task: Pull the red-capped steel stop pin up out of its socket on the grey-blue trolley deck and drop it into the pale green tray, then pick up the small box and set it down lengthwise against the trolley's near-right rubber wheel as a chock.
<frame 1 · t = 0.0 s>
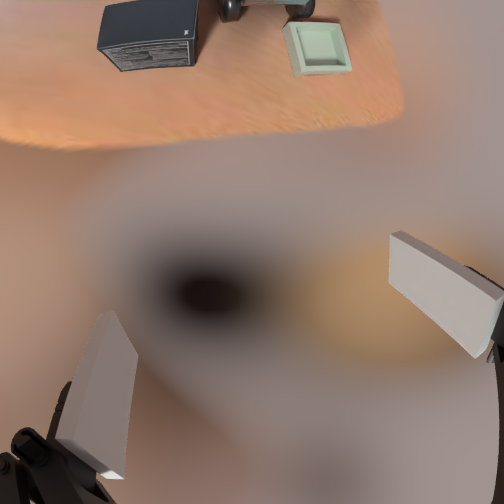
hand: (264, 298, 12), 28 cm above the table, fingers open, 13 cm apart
small box: (158, 48, 28), on the table
tray: (313, 51, 32), on the table
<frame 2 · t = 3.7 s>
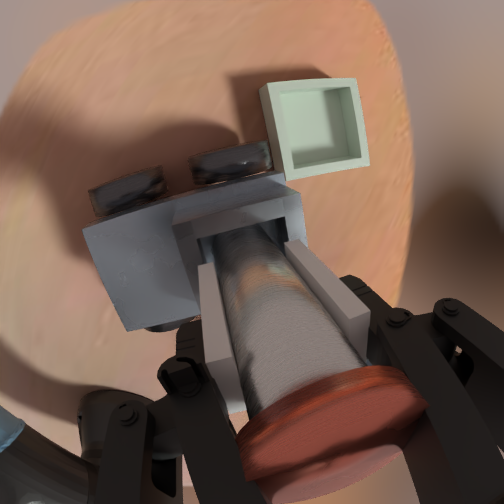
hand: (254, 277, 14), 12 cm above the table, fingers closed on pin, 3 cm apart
pin: (241, 247, 18), point 8 cm above the table, touching gripper, trolley
tray: (309, 126, 23), on the table
trolley: (194, 225, 24), on the table
when the fingers open (6 cm above the table, at t = 8.1 s): pin stays where it is, resting on tray.
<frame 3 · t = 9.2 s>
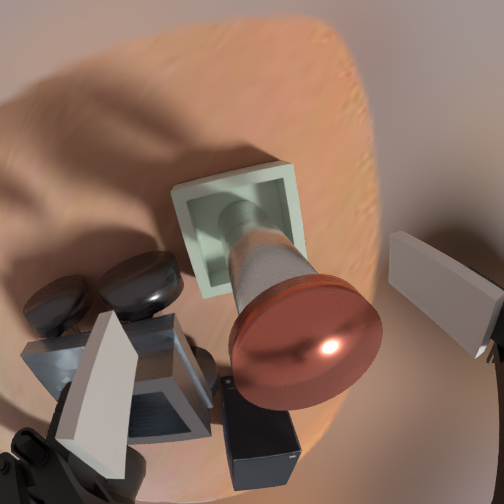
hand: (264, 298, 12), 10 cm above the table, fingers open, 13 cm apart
small box: (246, 400, 30), on the table
pin: (242, 224, 21), point 1 cm above the table, touching tray
tray: (239, 222, 21), on the table
trolley: (127, 323, 23), on the table
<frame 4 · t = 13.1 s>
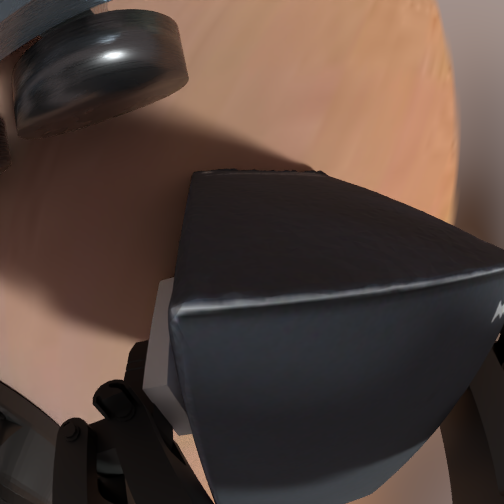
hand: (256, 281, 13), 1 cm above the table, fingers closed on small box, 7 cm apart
small box: (252, 274, 14), on the table, touching gripper
trolley: (36, 43, 7), on the table
when the fingers open (2 cm above the table, at t = 18.5 s): small box drops 1 cm, on the table.
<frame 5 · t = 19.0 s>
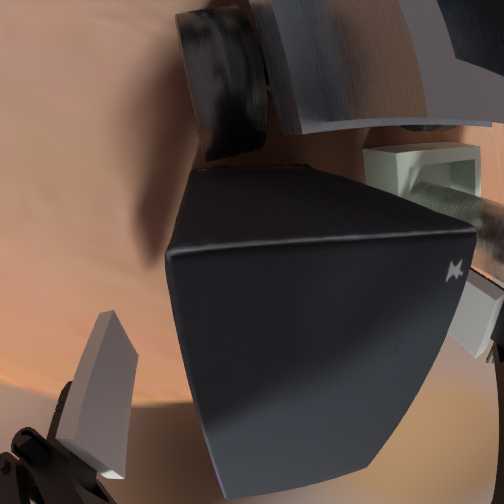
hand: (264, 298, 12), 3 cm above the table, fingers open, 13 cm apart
small box: (248, 262, 15), on the table
pin: (423, 209, 15), point 1 cm above the table, touching gripper, hand, tray
tray: (415, 204, 16), on the table
trolley: (292, 17, 10), on the table
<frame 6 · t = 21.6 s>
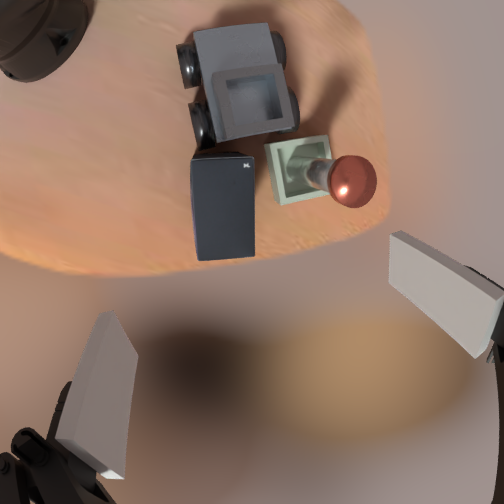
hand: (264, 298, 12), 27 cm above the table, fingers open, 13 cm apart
small box: (216, 191, 36), on the table
pin: (298, 168, 36), point 1 cm above the table, touching tray
tray: (296, 167, 37), on the table
trolley: (232, 90, 31), on the table
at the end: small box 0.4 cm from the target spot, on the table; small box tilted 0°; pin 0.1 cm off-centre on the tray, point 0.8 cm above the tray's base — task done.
